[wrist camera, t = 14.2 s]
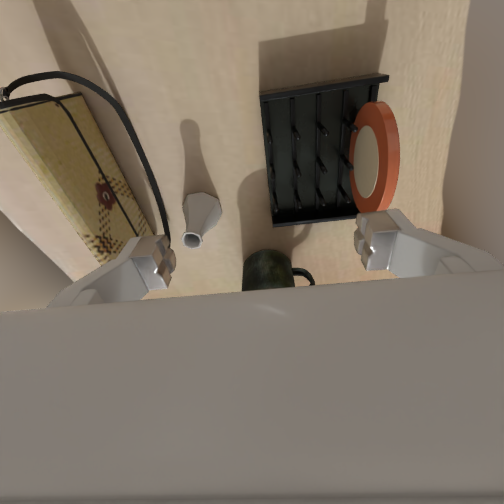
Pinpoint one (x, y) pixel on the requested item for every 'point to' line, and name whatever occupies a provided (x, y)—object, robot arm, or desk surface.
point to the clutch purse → (78, 164)
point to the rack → (313, 147)
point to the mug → (270, 272)
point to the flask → (199, 217)
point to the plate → (374, 157)
